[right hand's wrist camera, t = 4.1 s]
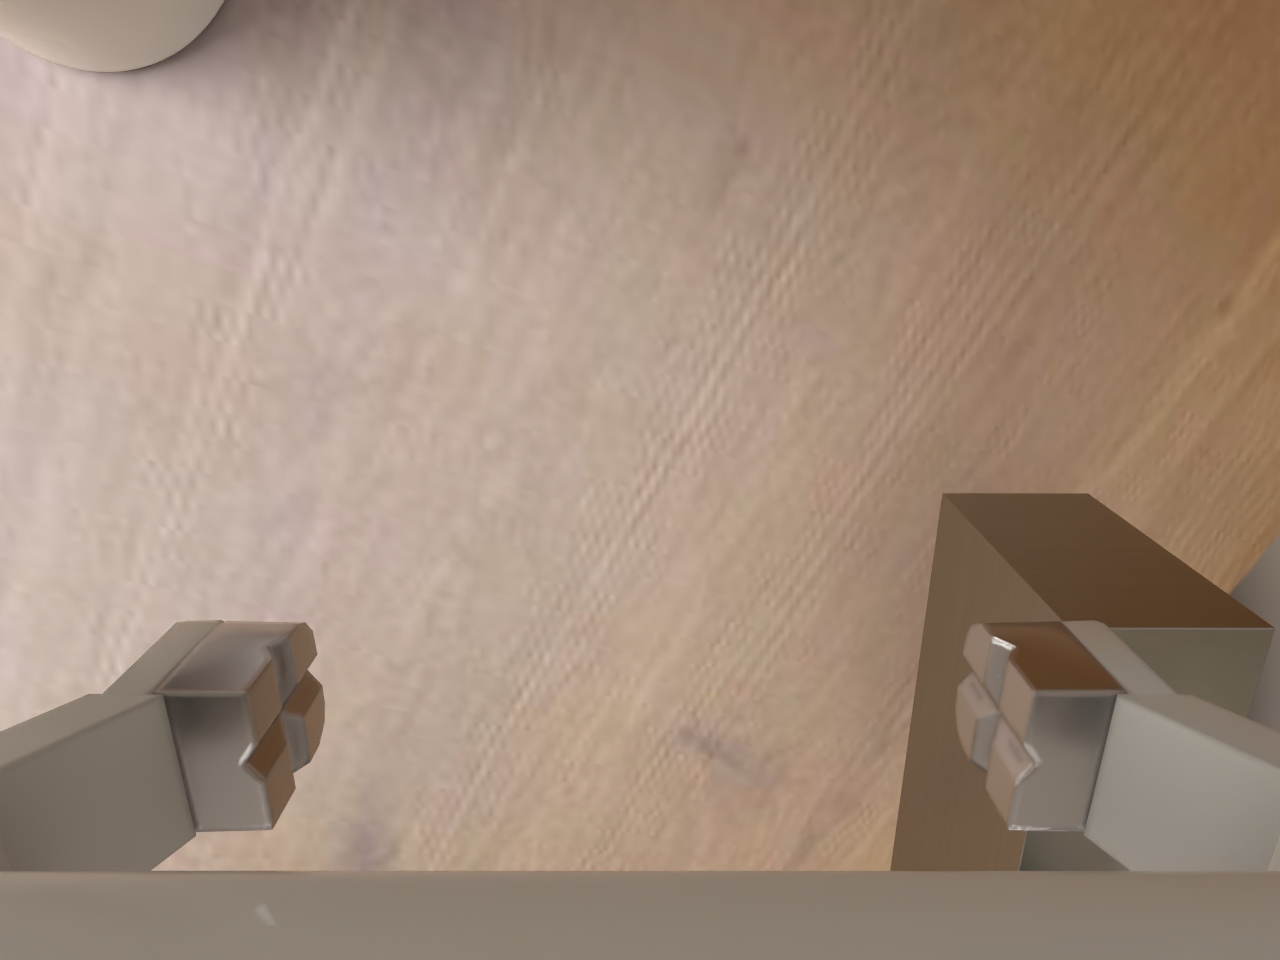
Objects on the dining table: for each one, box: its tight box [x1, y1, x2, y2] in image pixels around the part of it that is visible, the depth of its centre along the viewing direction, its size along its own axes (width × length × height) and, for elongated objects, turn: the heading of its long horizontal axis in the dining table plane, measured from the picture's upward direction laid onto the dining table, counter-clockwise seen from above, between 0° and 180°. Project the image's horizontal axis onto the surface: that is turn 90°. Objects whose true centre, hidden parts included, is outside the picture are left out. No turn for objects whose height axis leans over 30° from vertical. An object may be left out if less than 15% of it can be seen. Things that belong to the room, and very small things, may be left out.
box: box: [890, 493, 1275, 871], centre depth 36 cm, size 25×6×12 cm, turn 0°
